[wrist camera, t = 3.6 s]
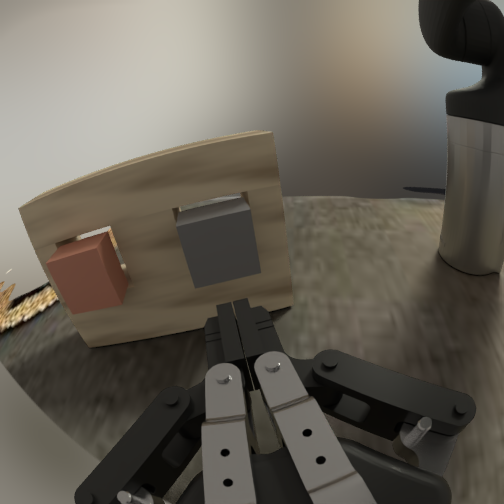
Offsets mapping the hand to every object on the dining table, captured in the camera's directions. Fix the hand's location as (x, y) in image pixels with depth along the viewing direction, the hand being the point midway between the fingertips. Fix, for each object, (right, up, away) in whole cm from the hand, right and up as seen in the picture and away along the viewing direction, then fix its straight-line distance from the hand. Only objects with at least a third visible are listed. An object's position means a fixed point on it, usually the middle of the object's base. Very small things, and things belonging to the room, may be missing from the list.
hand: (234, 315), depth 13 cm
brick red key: (-12, -1, +8) cm, 14 cm away
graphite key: (-1, +2, +9) cm, 9 cm away
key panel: (-6, -4, +15) cm, 16 cm away
